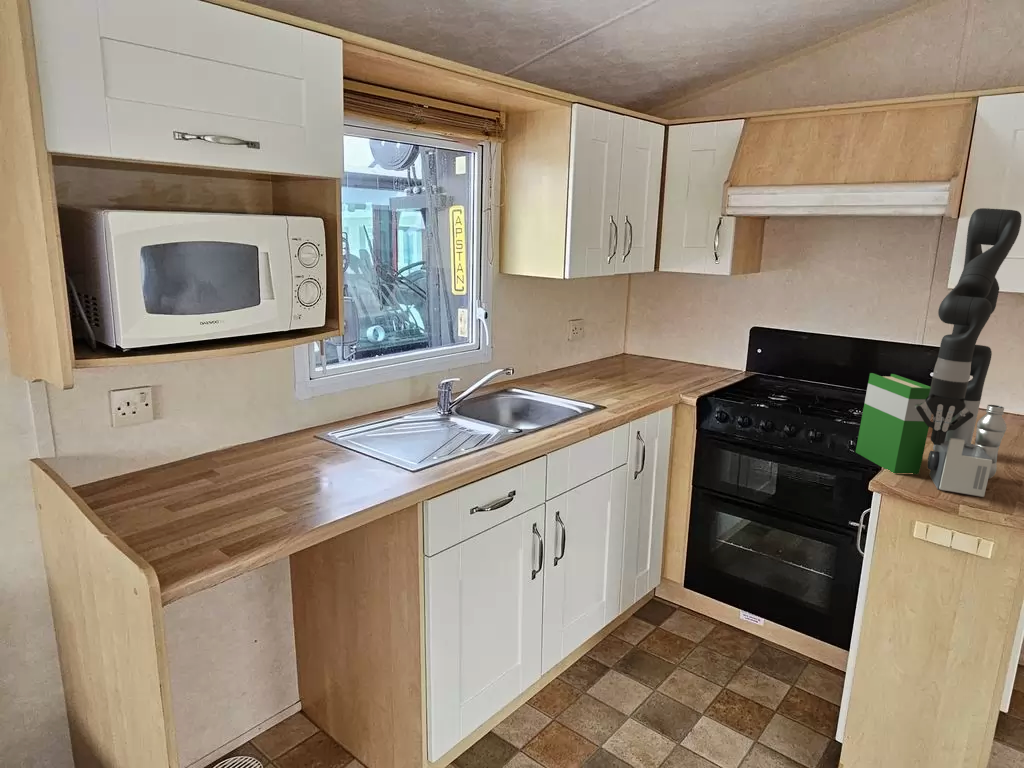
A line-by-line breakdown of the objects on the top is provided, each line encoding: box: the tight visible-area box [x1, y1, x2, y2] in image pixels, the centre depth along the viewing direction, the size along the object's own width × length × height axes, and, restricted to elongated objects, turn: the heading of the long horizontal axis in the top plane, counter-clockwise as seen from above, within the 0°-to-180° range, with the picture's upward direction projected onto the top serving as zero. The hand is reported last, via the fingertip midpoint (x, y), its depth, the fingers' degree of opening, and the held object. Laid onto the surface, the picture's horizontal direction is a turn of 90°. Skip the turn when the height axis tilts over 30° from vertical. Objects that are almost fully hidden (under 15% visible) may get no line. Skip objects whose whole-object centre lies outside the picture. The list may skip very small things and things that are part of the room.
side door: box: [938, 438, 992, 498], centre depth 171 cm, size 1×10×14 cm, turn 68°
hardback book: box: [855, 372, 933, 475], centre depth 192 cm, size 18×7×24 cm, turn 6°
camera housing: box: [926, 441, 992, 498], centre depth 178 cm, size 12×12×11 cm
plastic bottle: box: [974, 404, 1007, 479], centre depth 185 cm, size 6×7×20 cm
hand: (936, 444), depth 173 cm, fingers closed
